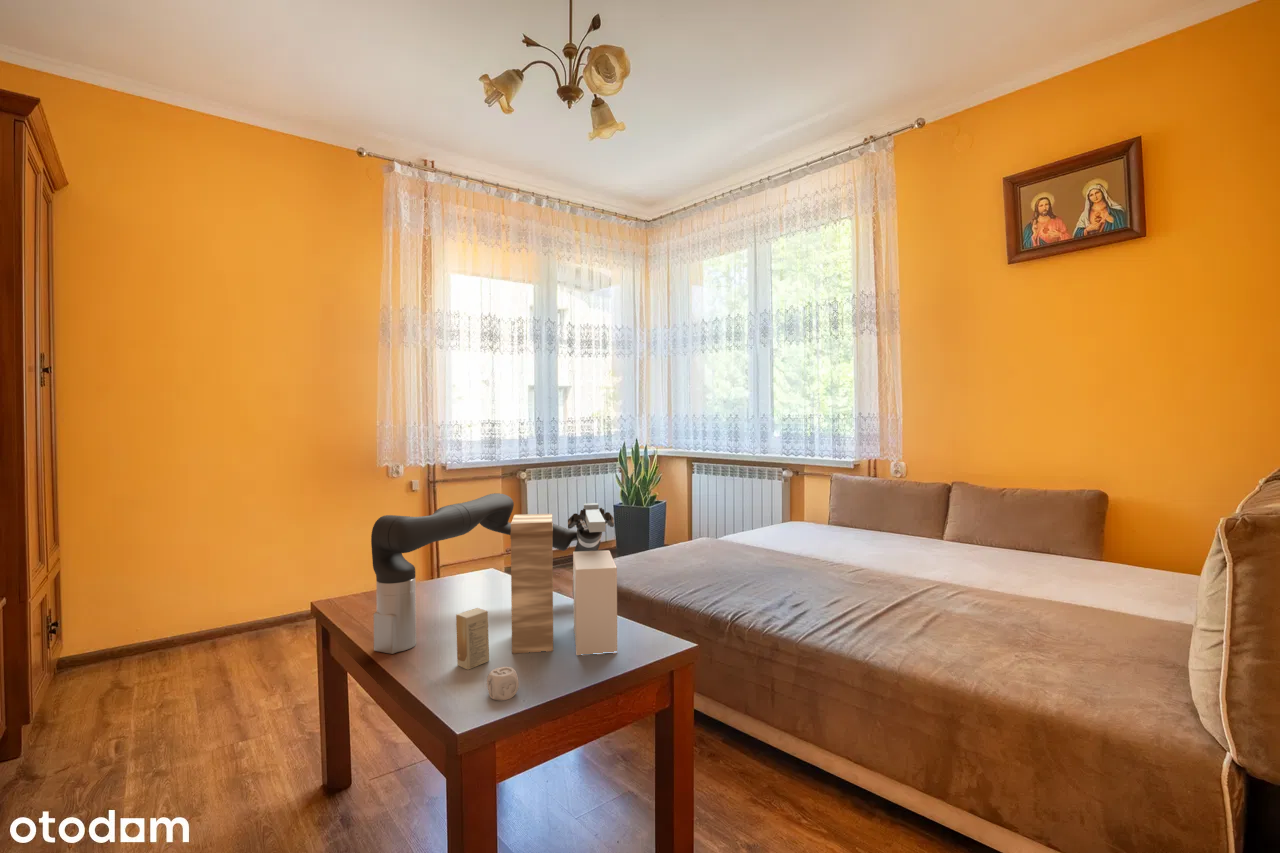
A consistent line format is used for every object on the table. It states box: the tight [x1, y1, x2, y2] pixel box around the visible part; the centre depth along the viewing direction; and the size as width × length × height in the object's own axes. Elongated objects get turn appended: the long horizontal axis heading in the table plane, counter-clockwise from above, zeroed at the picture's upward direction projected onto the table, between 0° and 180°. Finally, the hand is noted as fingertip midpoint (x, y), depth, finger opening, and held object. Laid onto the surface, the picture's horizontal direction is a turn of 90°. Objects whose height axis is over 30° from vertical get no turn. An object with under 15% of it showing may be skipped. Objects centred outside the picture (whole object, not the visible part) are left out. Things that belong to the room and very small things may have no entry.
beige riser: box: [572, 549, 618, 655], centre depth 155 cm, size 20×10×21 cm, turn 8°
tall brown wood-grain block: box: [509, 513, 554, 654], centre depth 153 cm, size 14×10×32 cm
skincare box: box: [455, 607, 490, 670], centre depth 140 cm, size 6×4×12 cm
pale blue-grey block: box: [583, 502, 606, 533], centre depth 160 cm, size 24×4×4 cm, turn 9°
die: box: [486, 666, 520, 702], centre depth 124 cm, size 5×5×5 cm
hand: (592, 511), depth 164 cm, fingers closed on pale blue-grey block, 4 cm apart
